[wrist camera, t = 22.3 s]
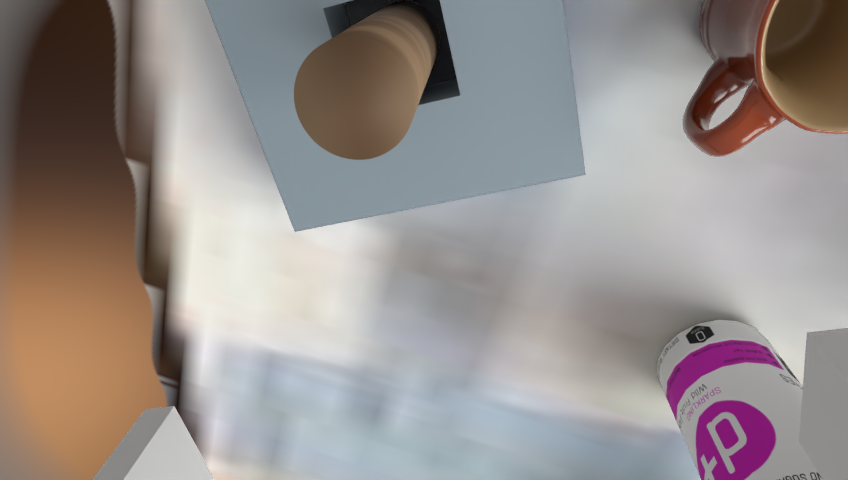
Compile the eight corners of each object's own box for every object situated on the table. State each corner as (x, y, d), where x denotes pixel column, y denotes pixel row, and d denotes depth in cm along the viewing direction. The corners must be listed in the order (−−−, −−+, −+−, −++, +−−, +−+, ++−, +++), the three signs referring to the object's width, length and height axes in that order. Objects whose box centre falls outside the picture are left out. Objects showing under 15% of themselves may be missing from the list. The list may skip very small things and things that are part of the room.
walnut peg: (430, -9, 33) (396, 23, 19) (447, 66, 35) (427, 146, 21) (359, 10, 34) (275, 54, 20) (380, 83, 36) (316, 170, 22)
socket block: (527, -182, 29) (536, -206, 24) (572, 147, 37) (585, 174, 32) (213, -83, 32) (171, -88, 28) (315, 200, 40) (294, 231, 35)
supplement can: (631, 368, 44) (698, 547, 31) (709, 295, 41) (821, 462, 27) (710, 413, 46) (805, 603, 32) (791, 347, 42) (936, 530, 29)
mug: (779, -121, 29) (916, -153, 20) (878, -5, 31) (1042, 14, 22) (604, 62, 34) (651, 103, 25) (700, 152, 36) (775, 220, 27)
